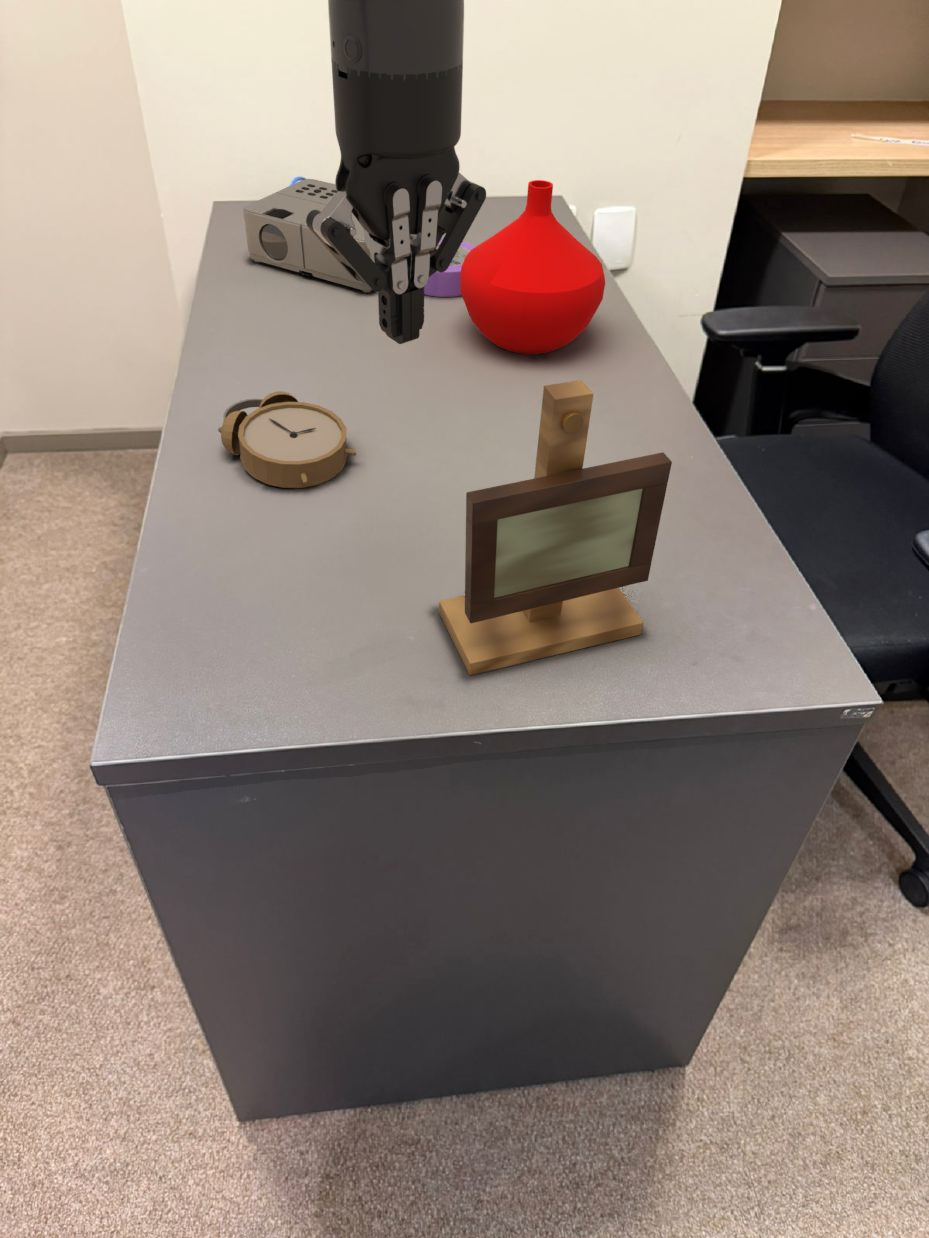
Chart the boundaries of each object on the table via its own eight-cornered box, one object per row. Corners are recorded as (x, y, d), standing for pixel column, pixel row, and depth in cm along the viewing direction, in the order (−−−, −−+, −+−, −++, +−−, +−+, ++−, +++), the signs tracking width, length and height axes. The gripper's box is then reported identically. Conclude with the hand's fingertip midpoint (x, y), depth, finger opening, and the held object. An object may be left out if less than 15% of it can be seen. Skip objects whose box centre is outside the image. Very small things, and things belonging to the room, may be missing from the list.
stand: (469, 676, 74) (482, 436, 58) (438, 613, 80) (443, 378, 64) (640, 634, 78) (696, 401, 63) (601, 577, 84) (642, 348, 68)
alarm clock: (292, 480, 88) (191, 404, 93) (290, 516, 92) (194, 441, 97) (371, 435, 95) (273, 365, 100) (367, 470, 99) (273, 401, 103)
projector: (311, 227, 144) (306, 175, 138) (429, 258, 137) (429, 204, 131) (244, 262, 133) (237, 208, 128) (368, 297, 126) (366, 241, 120)
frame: (470, 623, 72) (472, 503, 63) (464, 612, 73) (466, 492, 64) (648, 580, 76) (672, 461, 67) (640, 570, 77) (663, 451, 68)
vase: (563, 300, 127) (579, 155, 114) (620, 360, 115) (646, 205, 102) (440, 315, 123) (442, 165, 109) (486, 379, 110) (494, 219, 97)
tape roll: (491, 295, 128) (492, 268, 125) (410, 299, 126) (410, 272, 123) (473, 262, 136) (474, 236, 133) (397, 266, 134) (397, 240, 131)
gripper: (448, 27, 56) (443, 295, 68) (261, 51, 50) (292, 342, 62) (528, 51, 52) (507, 333, 64) (334, 81, 46) (352, 387, 58)
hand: (401, 337), depth 63 cm, fingers closed
